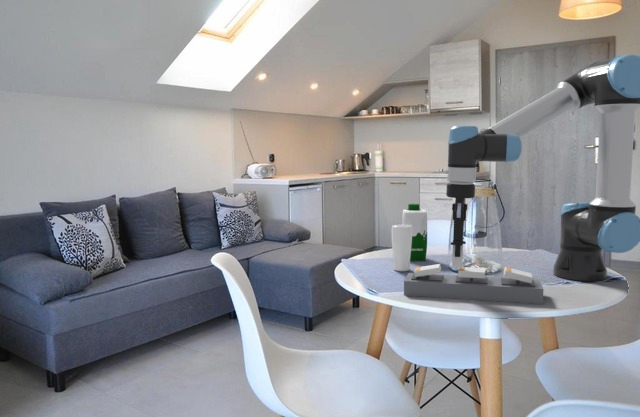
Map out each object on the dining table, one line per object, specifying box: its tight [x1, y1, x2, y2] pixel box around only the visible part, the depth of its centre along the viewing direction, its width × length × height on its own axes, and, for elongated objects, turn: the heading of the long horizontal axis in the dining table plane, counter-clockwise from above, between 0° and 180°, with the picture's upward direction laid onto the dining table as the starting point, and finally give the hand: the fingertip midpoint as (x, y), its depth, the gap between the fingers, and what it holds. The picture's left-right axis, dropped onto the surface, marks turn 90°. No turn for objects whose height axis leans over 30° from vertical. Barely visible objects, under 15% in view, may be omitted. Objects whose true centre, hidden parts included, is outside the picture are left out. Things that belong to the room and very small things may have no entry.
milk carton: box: [402, 203, 428, 262], centre depth 195 cm, size 9×9×20 cm
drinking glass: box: [391, 224, 412, 272], centre depth 178 cm, size 7×7×15 cm
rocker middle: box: [457, 266, 486, 278], centre depth 148 cm, size 7×5×2 cm
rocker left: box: [413, 263, 442, 277], centre depth 152 cm, size 7×5×2 cm
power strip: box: [403, 272, 544, 305], centre depth 149 cm, size 36×10×5 cm, turn 73°
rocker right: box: [503, 266, 534, 283], centre depth 145 cm, size 7×5×2 cm
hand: (456, 267), depth 149 cm, fingers closed
